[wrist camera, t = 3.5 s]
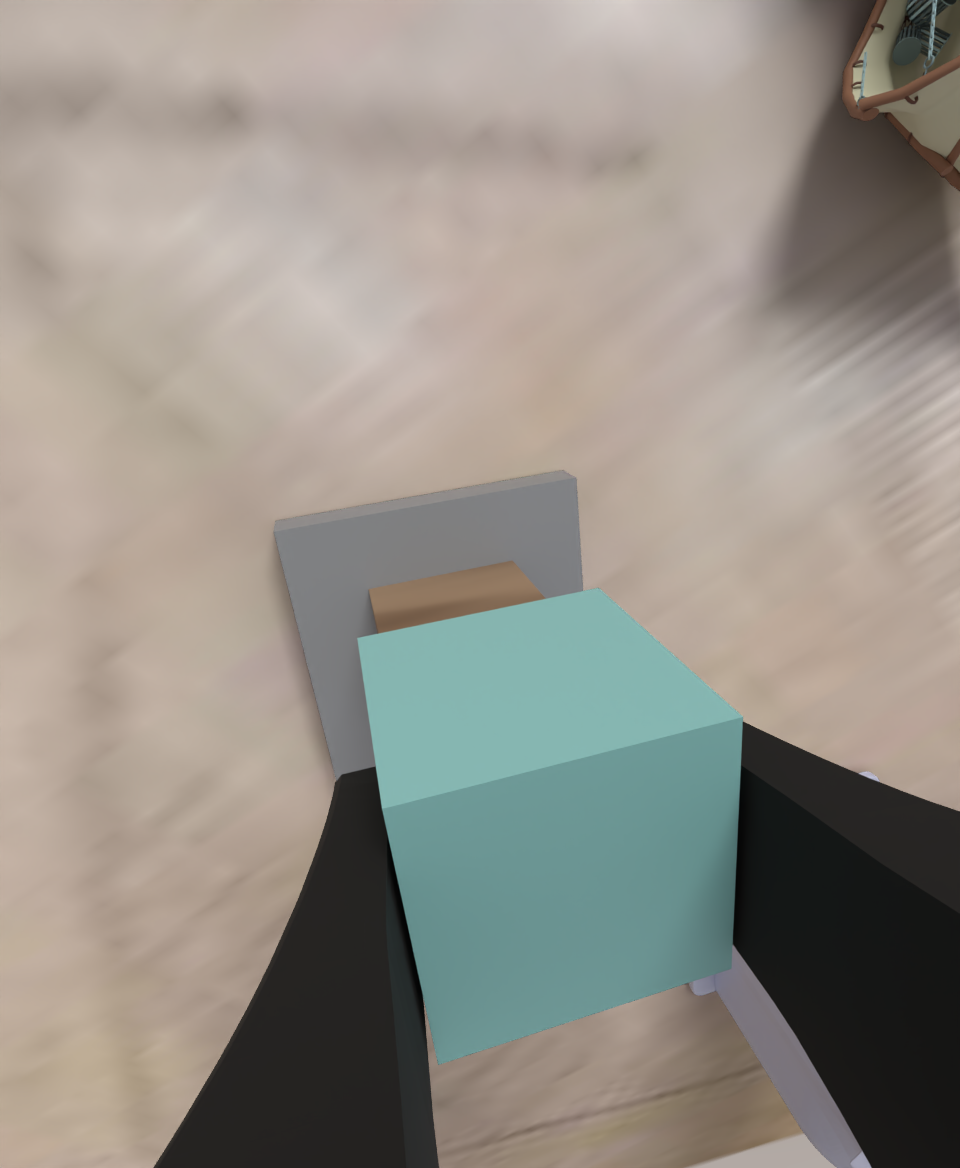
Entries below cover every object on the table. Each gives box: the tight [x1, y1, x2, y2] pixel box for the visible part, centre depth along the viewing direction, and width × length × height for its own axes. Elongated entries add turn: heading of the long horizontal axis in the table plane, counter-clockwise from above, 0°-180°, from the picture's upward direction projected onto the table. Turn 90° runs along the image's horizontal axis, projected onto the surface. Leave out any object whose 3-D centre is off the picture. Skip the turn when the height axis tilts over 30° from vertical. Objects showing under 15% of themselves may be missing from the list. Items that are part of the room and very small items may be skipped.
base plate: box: [274, 470, 583, 781], centre depth 19 cm, size 8×8×1 cm
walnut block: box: [369, 560, 546, 634], centre depth 17 cm, size 4×4×4 cm
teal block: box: [357, 588, 743, 1065], centre depth 9 cm, size 4×4×4 cm
